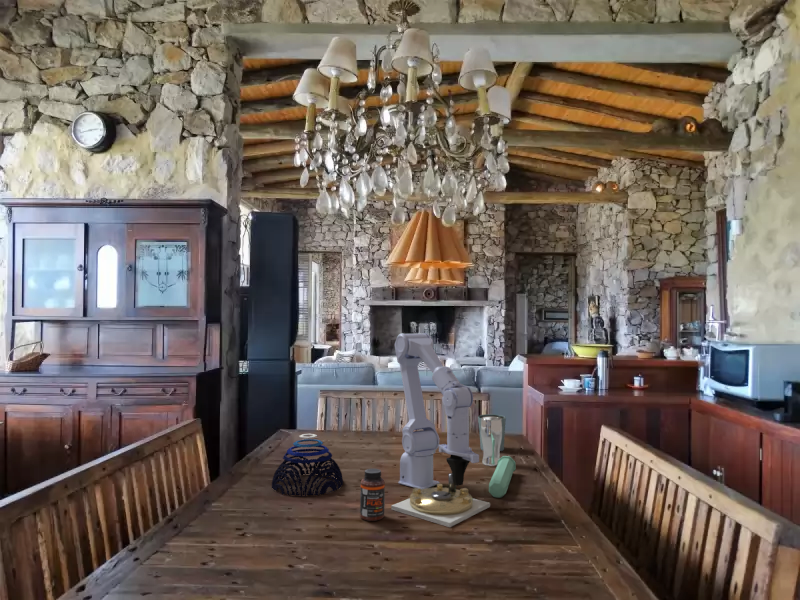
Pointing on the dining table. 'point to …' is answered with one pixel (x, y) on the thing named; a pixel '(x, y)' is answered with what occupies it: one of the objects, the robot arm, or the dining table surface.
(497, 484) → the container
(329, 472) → the decorative bowl
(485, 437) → the beer glass
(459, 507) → the brass round disc
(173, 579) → the dining table surface
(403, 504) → the dial plate
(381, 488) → the supplement bottle
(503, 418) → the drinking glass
